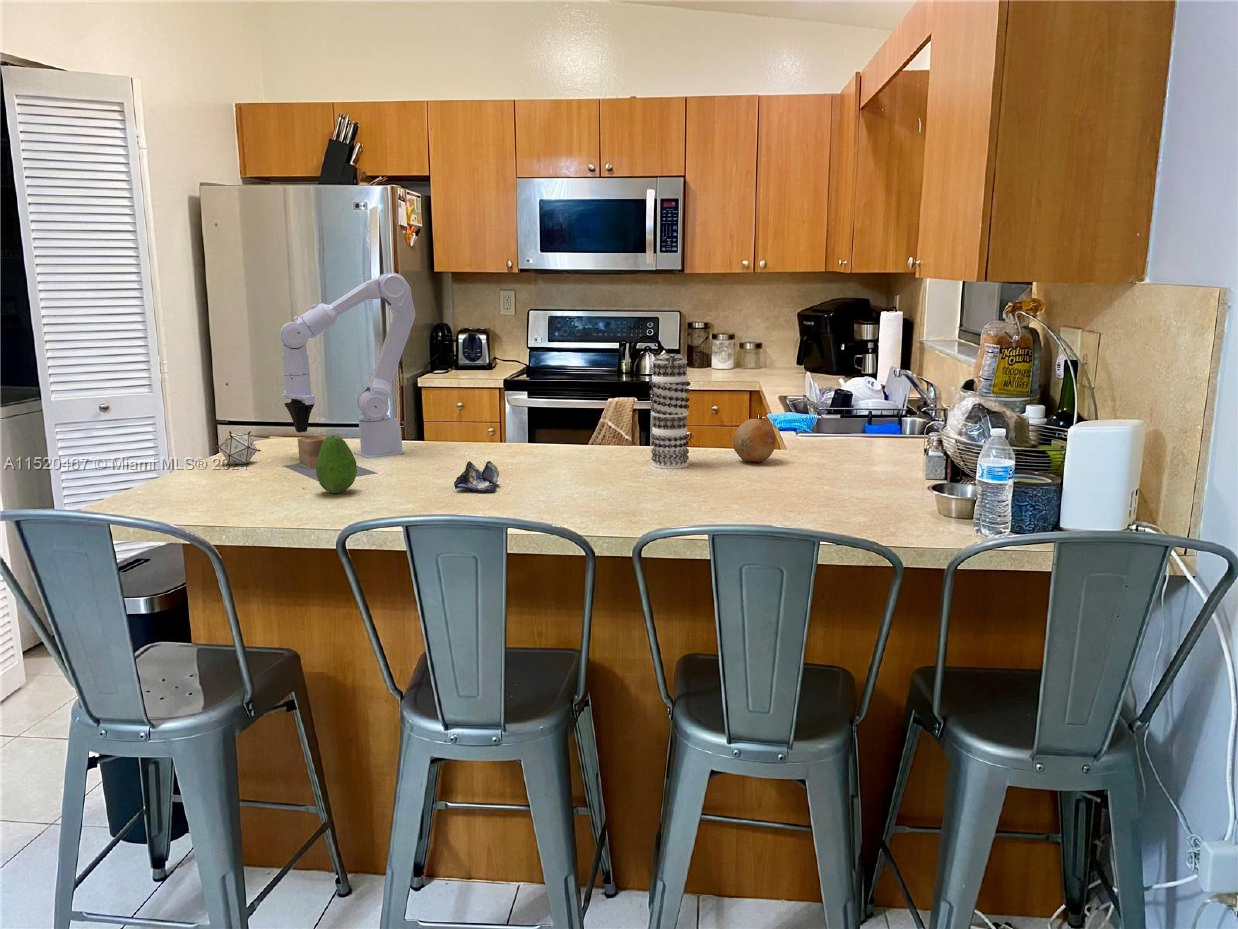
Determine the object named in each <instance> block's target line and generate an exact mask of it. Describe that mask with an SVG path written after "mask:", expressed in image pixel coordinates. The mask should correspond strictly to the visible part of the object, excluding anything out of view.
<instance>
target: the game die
mask: <svg viewBox="0 0 1238 929" xmlns="http://www.w3.org/2000/svg"><path fill="white" fill-rule="evenodd" d="M228 433H229V435H228V436H227V437H226V438H225V439H224V441H223V442H222V443H221V444H220V445H216V446H215V448H216V449H219V450H220V452H221V453H222V455H223V457H224V459H225V461H226V466H230V465H245V466H246V467H247V466H248V465H249V464H248V463H249V462H250V460H251V459H252V458H253V456H254V455H255V454H257V452H262V450H261V449H257V446H256V444H255V443H254V441H253V439H252V438H251V436H250V435H251V433H252V432H251V430H249V431H248V432H247V433H232V431H231V430H229V431H228Z"/></svg>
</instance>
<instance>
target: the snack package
mask: <svg viewBox="0 0 1238 929" xmlns="http://www.w3.org/2000/svg"><path fill="white" fill-rule="evenodd" d="M483 462H485V460H483ZM480 463H482V462H480ZM498 469H499V468H498V467H497V465H495V464H494V463H493V462H492V461H491V460H489V461H486V463H485V465H484V468H483V469H482V470H480V468H478V467H477V466H476V465H475V464H474V463H473V462H472V461H470V460H469V461H467V462H466V465H465V469H464V471H463V472H461V474H460V475H459V476H457V477H456V479H455V481H454V482H453V487H454V489H455V490H457V489H458V490H459V489H470V490H471V491H473V493H479V494H485V493H495V492H496V485H497V483H498V482H499V480H498V479H499V478H500V470H498ZM487 483H488V485H485V484H487ZM481 485H484V486H483V487H479V486H481Z"/></svg>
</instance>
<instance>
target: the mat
mask: <svg viewBox="0 0 1238 929" xmlns="http://www.w3.org/2000/svg"><path fill="white" fill-rule="evenodd" d="M282 467H283V468H286V469H288V470H290V471H293V472H295V473H297V474H300V475H302V476H305V477H307V478H309V479H312V480H314V481H316V482H319V480H318V478H317V475H316V468H312V469H309V468H307V467H304V466H302V465H300V462H299V463H293V464H291V463H290V464H285V465H282ZM377 474H378V472H376V471H374V470H370V469H368V468H365V467H362V466H359V465H357V474H356V478H358V477H359V478H360V477H364V476H369V475H371V476H372V475H377Z"/></svg>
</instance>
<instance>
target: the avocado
mask: <svg viewBox="0 0 1238 929" xmlns="http://www.w3.org/2000/svg"><path fill="white" fill-rule="evenodd" d="M357 466H358V465H357V461H356V459H355V457H354V453H353V452H352V450H351V448H350V446H349V445H348V444H347V442H346V441H345V440H344V439H343V438H342V437H341V436H338V435H335V434H331V435H328V436H327V438H326V439H325V440H324V441H323V443H322V445H321V449H320V452H319V455H318V458H317V462H316V475H317V478H318V480H319V481H318V483H319V485H320V486H321V487H322V489H324V490H325V491H327V493H328V492H329V493H331V494H341V493H343V492H345V491H347V490H348V489H349V488H351V486H353V484H354V483H355V480H356V478H357V477H356V474H357Z"/></svg>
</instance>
